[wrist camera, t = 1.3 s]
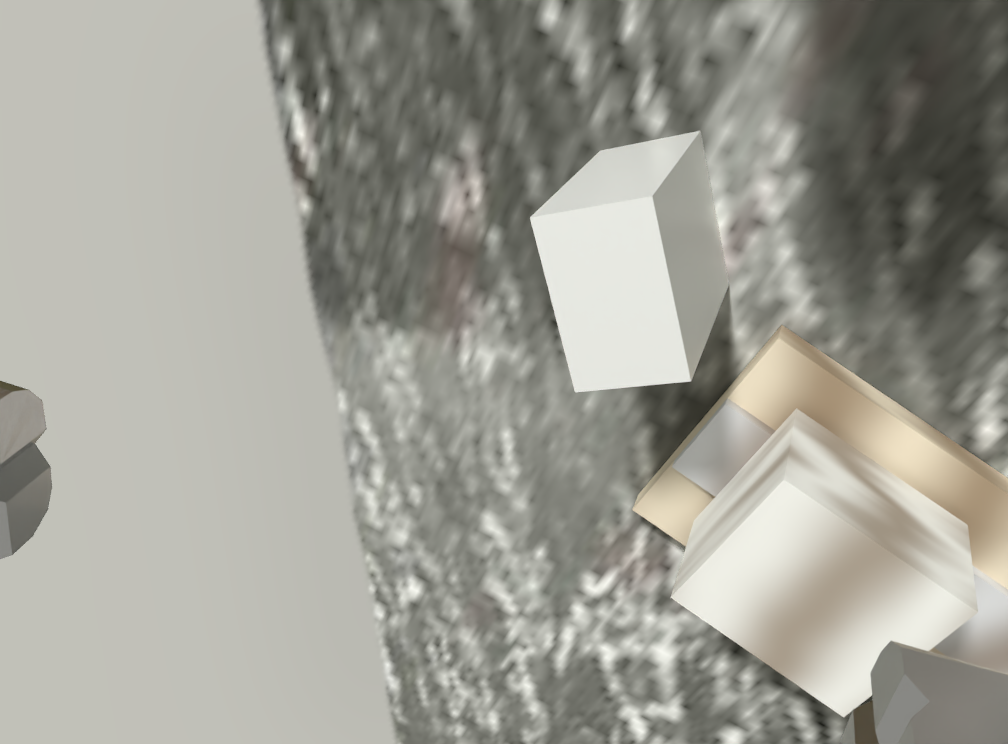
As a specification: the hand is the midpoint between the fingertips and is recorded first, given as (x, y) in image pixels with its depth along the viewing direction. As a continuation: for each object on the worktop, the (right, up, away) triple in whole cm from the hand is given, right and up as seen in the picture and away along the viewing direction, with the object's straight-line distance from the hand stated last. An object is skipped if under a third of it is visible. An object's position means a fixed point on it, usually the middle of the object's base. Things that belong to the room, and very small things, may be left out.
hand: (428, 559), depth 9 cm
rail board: (+24, -10, +37) cm, 46 cm away
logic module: (+8, +9, +34) cm, 36 cm away
